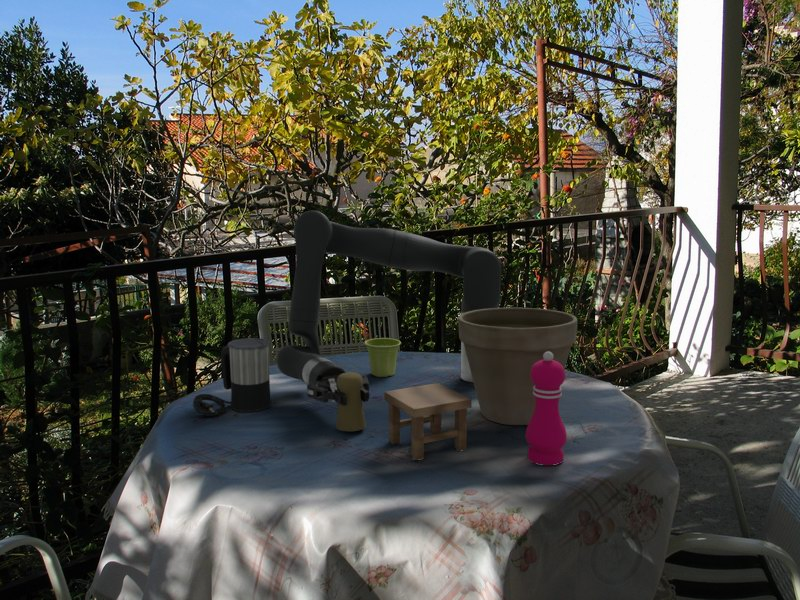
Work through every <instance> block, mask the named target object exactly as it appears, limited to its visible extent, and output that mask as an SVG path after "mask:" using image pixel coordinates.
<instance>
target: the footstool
mask: <svg viewBox="0 0 800 600" xmlns="http://www.w3.org/2000/svg"><path fill="white" fill-rule="evenodd" d="M383 394H384V395H383V396H384V397H383V398H384V401H386V402H388V441H389V442H388V443H390V442H391V443H390V444H391V445H397V444H401V429H402V428H408V427H410V428H411V429H410V430H411V459H412V458H414V459H415V460H418V459H422V458H425V457H424V456H425V455H424V453H425V449H424V447H425V446H424V444H428V443H431V442H433V443H434V442H436V441H437V442H438V441H443V440H448V439H452V438H454V449H455V448H456V449H457V450H459V451H460V452H462V451H461V450H465V449H467V446H468V444H467V443H468V442H467V440H468V439H467V438H468V436H467V434H468V433H467V432H468V430H467V426H468V425H467V424H468V420H467V419H468V417H467V415H468V414H467V412H468V411H467V410H468V409H469V408H472V398H469V397H468V396H466V395H463V394H462V393H461V392H460V393H459V392H458V391H456V390H454V389H452V388H450V387H447V386H445V385H444V384H441V383H439V382H436V383H429V384H424V385H416V386H411V387H404V388H399V389H393V390H392V389H391V390H387V391H384V392H383ZM401 411H402V412H404V413H405V414H407V415H409V416H410V417H409V418H404V419H401ZM448 412H454V428H450V429H447V430H446V429H445V430H442V414H443V413H448ZM428 423H429V426H430V427H429V429H430V430H429V433H427V434H424V428H425V427H424V424H428ZM430 433H431V434H430ZM396 443H397V444H396ZM456 449H455V450H456ZM457 450H456V451H457ZM459 451H458V452H459ZM465 451H466V450H465ZM414 459H413V460H414ZM415 460H414V461H415Z"/></svg>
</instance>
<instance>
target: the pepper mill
mask: <svg viewBox="0 0 800 600" xmlns="http://www.w3.org/2000/svg"><path fill="white" fill-rule="evenodd" d="M543 358H544V360H540V361H538V362H536V363H535V364H534V365H533V367H532V369H531V379H532V381H533V382H534V384H535V386H534V387H533V389H534V391H533V394H534V395H535V399H536V404H535V410H534V413H533V416H532V418H531V420H530V422H529V424H528V425H526V431H525V440H526V443H527V444H529V447H528V448H527V459H528V461H529V460H530V461H532V462H534V463H538V464H543V465H553V464H557V463H560V462H562V461H563V462H564V450H563V449H562V448H563V447H564V446H565V445H566V443H567V441H568V439H567V438H568V437H567V436H568V435H567V430H566V427H565V424H564V422H563V419H562V417H561V415H560V411H559V410H560V409H559V402H560V398H561V396H562V395H563V393H562V391H563V388H562V384H564V382H565V379H566V372H565V371H566V370H565V369H564V368H563V366H562V365H561V364H560V363H558V362H557V361H554V360H552V359H553V354H552V353H551V352H549V351H548V352H545V353H544V355H543ZM530 461H529V462H530ZM532 462H531V463H532ZM563 462H562V463H563ZM534 463H533V464H534Z"/></svg>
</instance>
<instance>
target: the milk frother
mask: <svg viewBox="0 0 800 600" xmlns="http://www.w3.org/2000/svg"><path fill="white" fill-rule="evenodd" d="M270 344H271V341H270V340H268V339H265V338H257V337H253V338H252V337H250V338H249V337H248V338H247V337H246V338H245V337H244V338H239V339H234V340H231V341H229V342H228V343H227V345H225V346H224V347H223V348H222V349H221V352H220V359H221V361H220V362H221V371H222V383H223V388H224V389H225V390H231V391H230V393H231V399H230V400H231V401H227V400H225V399H223V398H221V397H219V396H216V395H212V394H210V393H200V394H198V395H196V396H195V397H194V399H193V400H192V407H193V409H194V410H195V411H196V412H197V413H199V414H200V415H203V416H209V417H211V416H218V415H221V414H223V413H224V412H225V410H226V405H225V404H230V409H232V410H234V411H235V412H236V411H237V412H245V413H251V412H259V411H263V410H266V409H268V408H270V407H271V406H272V404H273V403H272V399H271V398H272V397H271V387H270V385H271V384H270V383H271V382H270V374H271V373H270ZM206 401H210V402H214V403H215V404H217V405H218V406H219V408H217V409H213V407H214V404H212V403H211V404H210V403H209V402H206Z"/></svg>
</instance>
